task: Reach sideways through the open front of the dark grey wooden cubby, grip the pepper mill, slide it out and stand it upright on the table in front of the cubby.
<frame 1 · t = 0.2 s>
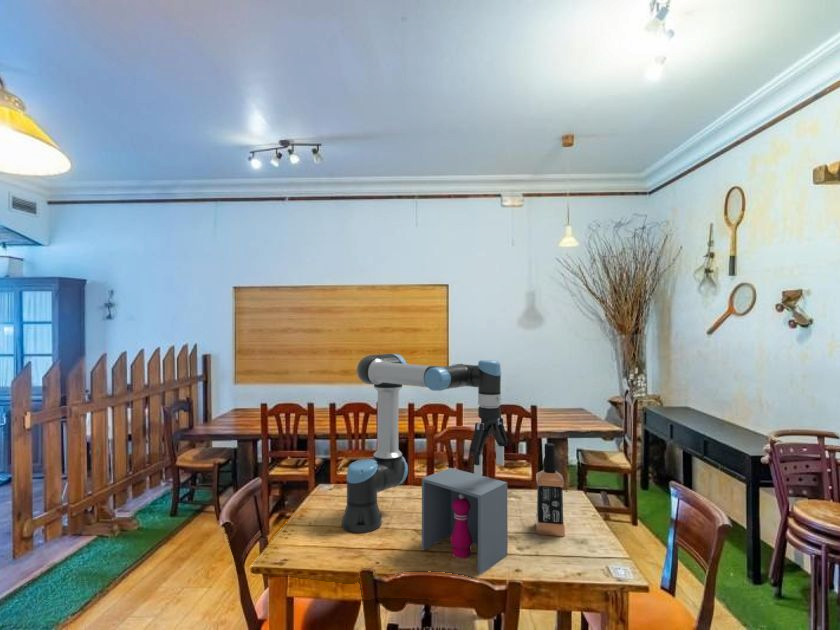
hand: (489, 469, 153), 28 cm above the table, tool pointing down, fingers open, 13 cm apart
pepper mill: (461, 554, 152), on the table
whiskey bottle: (549, 530, 171), on the table
cubby: (464, 552, 153), on the table
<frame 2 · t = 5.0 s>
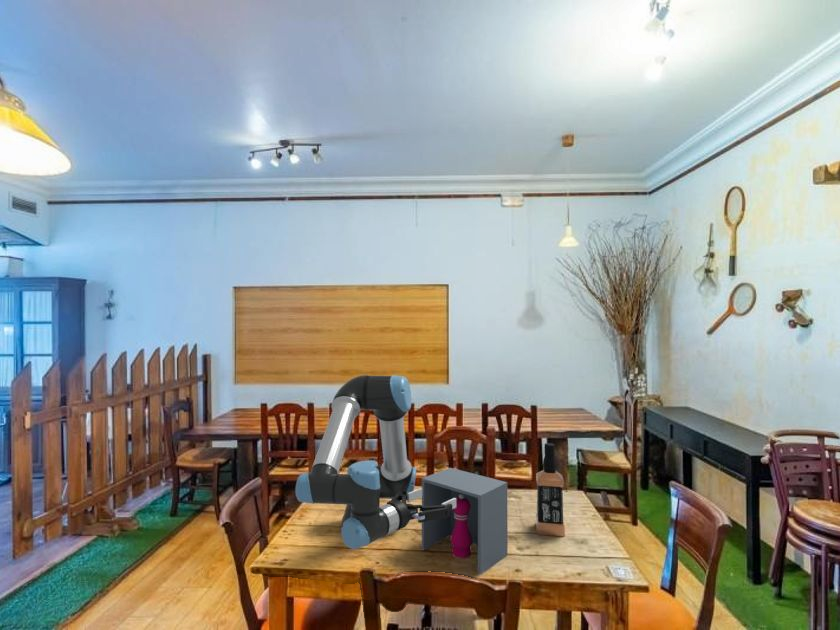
hand: (438, 497, 143), 22 cm above the table, tool horizontal, fingers open, 13 cm apart
nothing on the table moved.
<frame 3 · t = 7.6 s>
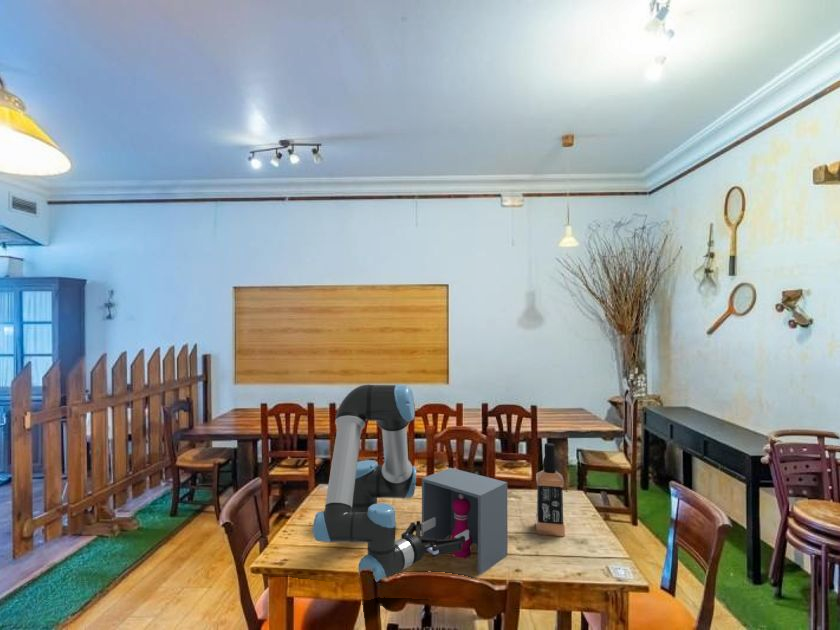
hand: (450, 527, 147), 11 cm above the table, tool horizontal, fingers open, 13 cm apart
nothing on the table moved.
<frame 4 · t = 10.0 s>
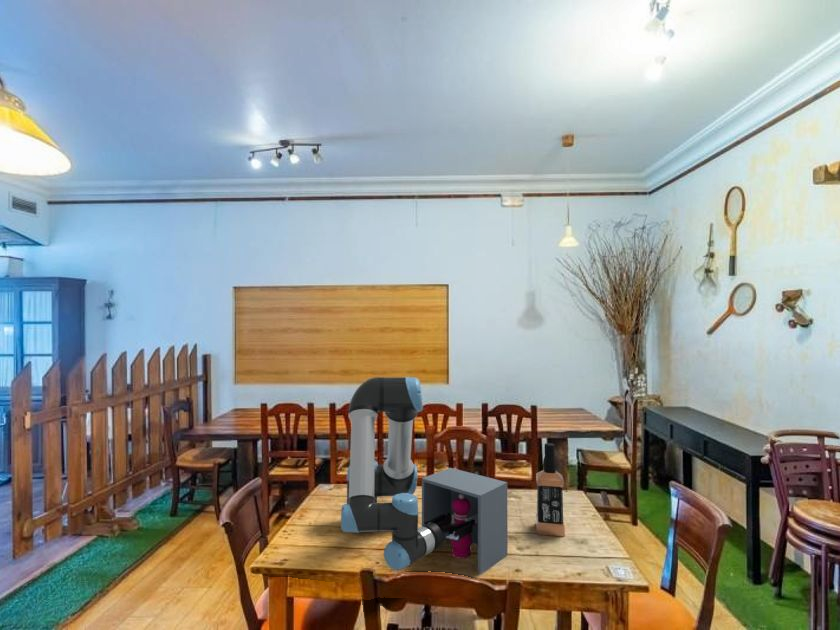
hand: (470, 515, 156), 11 cm above the table, tool horizontal, fingers closed on pepper mill, 5 cm apart
pepper mill: (461, 554, 152), on the table, touching gripper
everything else where it was.
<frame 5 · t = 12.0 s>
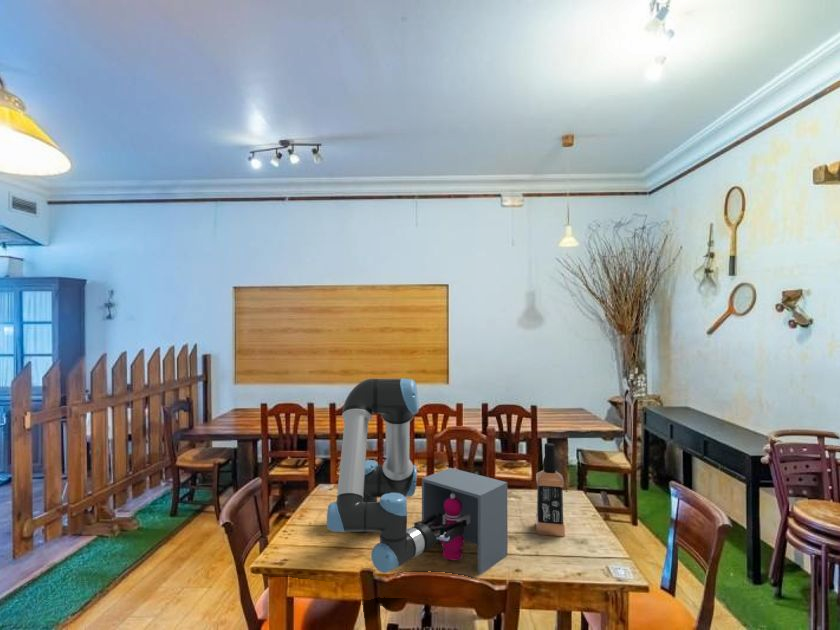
hand: (462, 516, 152), 13 cm above the table, tool horizontal, fingers closed on pepper mill, 5 cm apart
pepper mill: (452, 556, 148), point 1 cm above the table, touching gripper
everything else where it was.
when the fingers open (12 cm above the table, at t = 13.8 s): pepper mill stays where it is, on the table.
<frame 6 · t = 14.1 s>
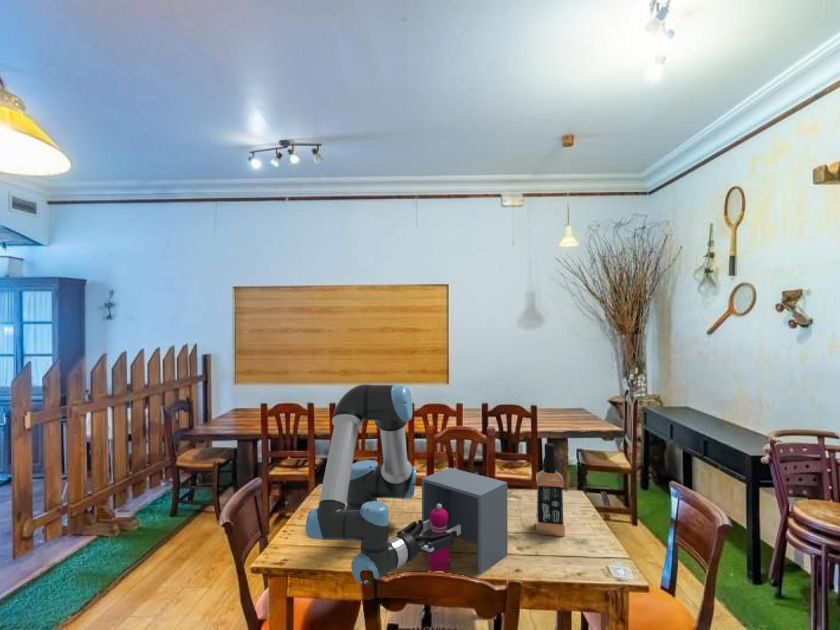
hand: (447, 524, 147), 12 cm above the table, tool horizontal, fingers open, 9 cm apart
pepper mill: (438, 568, 143), on the table
everything else where it was.
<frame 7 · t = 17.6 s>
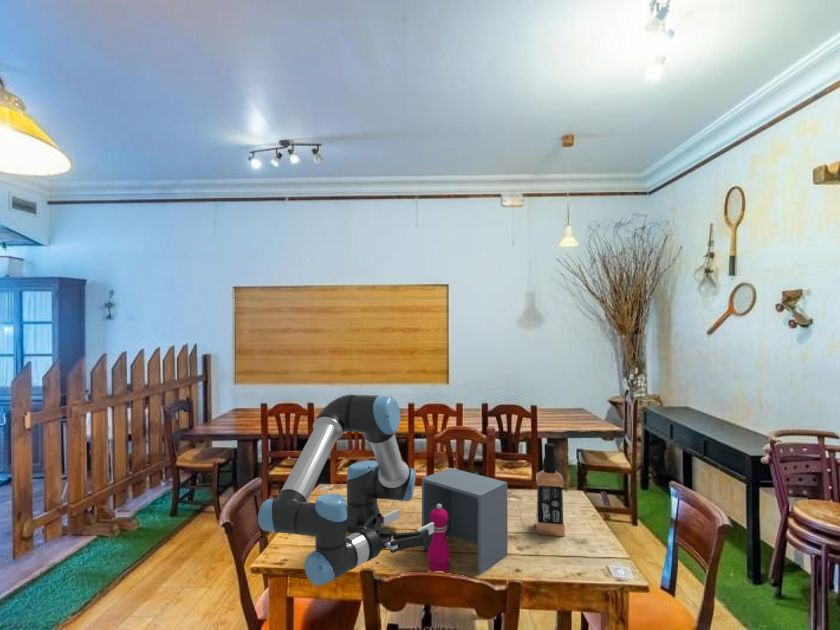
hand: (415, 520, 135), 19 cm above the table, tool horizontal, fingers open, 13 cm apart
nothing on the table moved.
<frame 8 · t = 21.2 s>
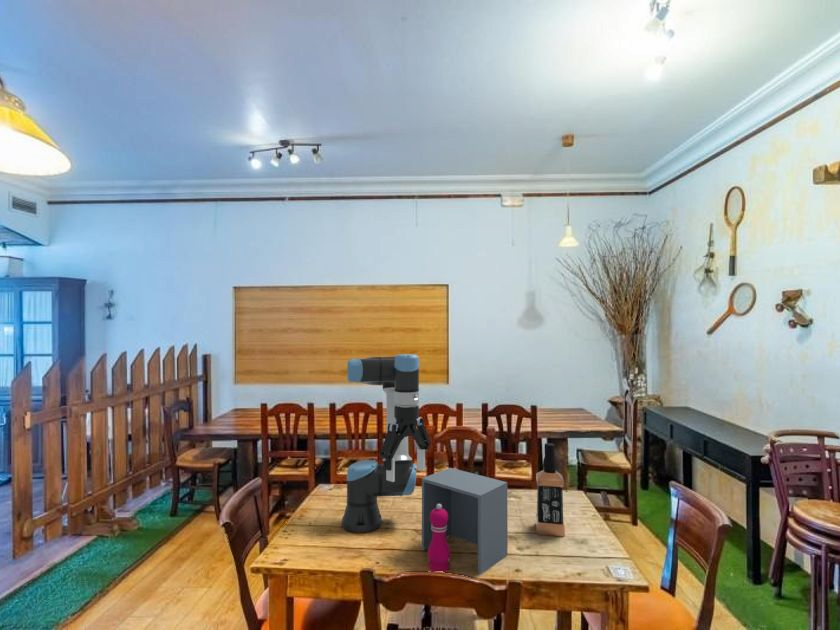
hand: (406, 475, 138), 31 cm above the table, tool pointing down, fingers open, 13 cm apart
nothing on the table moved.
at the end: pepper mill inside the target area (2.3 cm from its centre), on the table; pepper mill tilted 0°; the gripper is holding nothing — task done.
